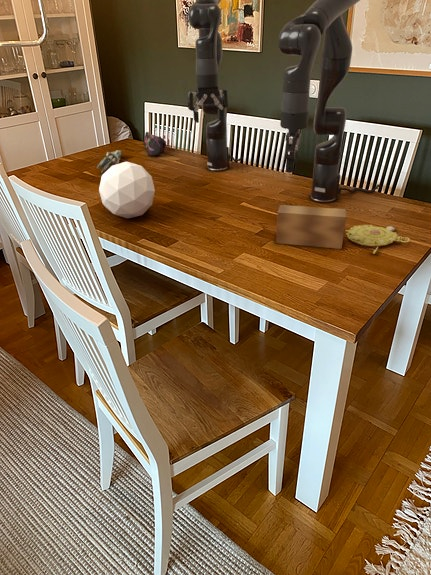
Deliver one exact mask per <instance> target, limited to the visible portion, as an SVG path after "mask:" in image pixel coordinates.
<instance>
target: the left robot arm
mask: <svg viewBox="0 0 431 575" xmlns="http://www.w3.org/2000/svg"><path fill="white" fill-rule="evenodd" d="M221 2H222V0H195V1H194V2H193V3H192V4H191V6H190V8H189V9H188V17H187V18H188V22H189V25H190V26H191V27H192V28H193V29H194V30H198V38H197V39H196V40H195V81H196V83H195V84H196V90H195V91H191V90H189V91H188V92H187V109H188V110H189V111H191V112H193V121H194V122H195V123H196V124H199V122H200V119H199V118H200V116H199V115H200V114H199V110H200V108H201V107H202V108H201V110H202V112H203V114H205V115H217V118H216V119H214V120H212V121H209V122H207V123H206V125H205V128H206V129H205V134H206V158H207V159H206V160H207V162H206V167H207V170H208V171H212V172H223V171H226V170H227V169H229V168H230V161H231V160H232V161H233V162H234V163H237V162H239V161H242V160H243V157H239V158H238V159H236V158H235V157H234V156H231V154H230V148H229V146H228V121H227V120H228V118H227V117H228V116H227V115H228V114H227V113H228V107H229V101H228V90H227V89H225V88H222V89H219V72H218V68H219V66H220V64H221V62H222V60H223V39H222V36H221V33H220V32H219V29H220V26H221V20H222V10H221V7H220V6H219V4H220V3H221ZM195 97H196V98H197V100H196V102H195V104H194V99H195Z"/></svg>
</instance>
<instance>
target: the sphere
mask: <svg viewBox="0 0 431 575" xmlns="http://www.w3.org/2000/svg"><path fill="white" fill-rule="evenodd" d="M98 192H99V196H100V199H101V203H102V205H103V206H104V207H105V208H106V210H108V211H109V212H111V213H112V215H114V216H117V217H121V218H125V219H128V220H129V219H132V218H136V217H140V216H143V215H144V214H145V213H146V212H147V211H148V210H149V209H150V208H151V207H152V206H153V203H154V198H155V192H156V190H155V186H154V181H153V176H152V175H151V174H150V173H149V172H148V171H147V170H146V169H145V168H144V166H142V165H140V164H137V163H134V162H130V161H127V160H126V161H123V162H119V163H118V164H112V165H111V166H110V167H109V168H108V169H107V170H106V171H104V173H102V174H101V178H100V183H99V188H98Z"/></svg>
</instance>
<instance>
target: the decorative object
mask: <svg viewBox="0 0 431 575" xmlns="http://www.w3.org/2000/svg"><path fill="white" fill-rule="evenodd" d="M395 230H396V228H395V227H394V226H390V225H389V226H386V227H381V226H377V225H374V224H371V223H370V224H362V225H360V224H358V225H353V227H350V228H349V229H345V232H346V233H345V235H346V236H347V239H348V240H349V241H350V242H353V243H355V244H357V245H361V246H366V247H376V248H375V249H374V250H373V252H372V254H373V255H375V254H376V253H377V252H378V251H377V250H378V249H379V247H383V246H387V245H389V244H392V243H393V242H397V243H404V244H407V243H410V242H411V238H409V237H408V236H401V235H400V236H399V234H398V232H396V231H395ZM403 239H406V240H403Z"/></svg>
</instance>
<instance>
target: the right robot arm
mask: <svg viewBox="0 0 431 575" xmlns="http://www.w3.org/2000/svg"><path fill="white" fill-rule="evenodd" d="M360 1H361V0H315V1H314V2H313V3H312V4H311V5H310V6H309V7H308V9H307V10H305V12H304V13H302V14H300V15H298V16H296V17H295V18H293V19H291V20H290V21H289V22H287V23H286V24H285V25H284V26H283V28H282V29H281V30H280V32H279V35H278V38H277V45H278V49H279V51H280V52H281V53H282V54H283V55H285V56H290V57H291V56H294V57H295V56H296V57H301V58H300V60H299V63H298V64H296V65H291V66H288V67H286V68H285V69H284V72H283V82H282V85H283V86H282V95H281V103H280V104H281V105H280V121H279V122H280V123H279V124H280V127H281V128H283V129H285V130H288V132H286V134H285V136H284V137H285V138H284V140H285V146H284V152H285V153H284V154H285V155H284V159H285V172H286V173H289V174H291V173H292V174H293V173H294V170H295V164H297V161H298V150H299V146H300V145H301V144H300V143H301V136H302V133H301V132H300V130H303V129H306V128H308V125H309V113H310V100H311V99H310V88H311V78H312V77H311V76H312V71H313V68H314V65H315V62H316V58H317V56H318V52H319V50H320V46H321V42H322V35H323V42H322V49H321V50H322V51H321V57H320V58H321V59H320V68H319V81H318V83H319V84H318V92H317V96H316V97H317V98H316V105H315V110H314V115H313V116H314V117H313V124H312V125H313V127H312V128H313V132H314V134H315V135H318V136H332V137H331V138H329V139H328V140H326V141H322V142H320V143H318V144H317V145H316V146H315V150H314V158H313V172H312V182H311V192H310V199H311V200H312V201H314V202H317V203H332V202H334V201H336V200H338V197H339V195H341V193H342V191H346V192H349V193H354V192H355V191H360V192H364V193H373V192H375V191H376V190H378V188H379V189H381V188H382V185H380V184H378V183H377V185H376V186H374V188H373V189H370V190H368V189H365V188H361V187H354V188H352V189H350V188H347V187H342V186H340V183H341V182H340V181H341V174H340V173H339V171H340V163H341V154H342V147H343V139H344V133H345V127H346V122H347V110H346V108H345V107H342V106H338V107H337V106H327V104H328V102H329V100H330V98H331V96H332V95H333V93H334V92H335V90H336V89H337V88H338V86H340V84H341V83H342V82H343V81H344V79H345V78H346V77H347V75H348V73H349V72H350V68H351V62H352V56H353V55H352V54H353V44H352V40H351V37H350V34H349V32H348V30H347V27H346V25H345V22H344V19H343V15H342V14H344V13H346V11H348V10H349V9H351V8H352V7H353V6H355V5H356V4H357V3H359V2H360Z"/></svg>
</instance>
